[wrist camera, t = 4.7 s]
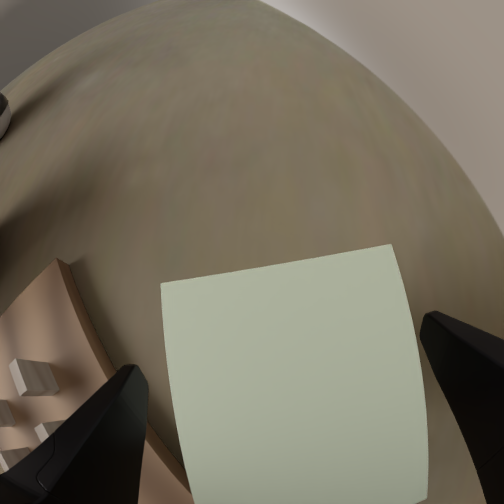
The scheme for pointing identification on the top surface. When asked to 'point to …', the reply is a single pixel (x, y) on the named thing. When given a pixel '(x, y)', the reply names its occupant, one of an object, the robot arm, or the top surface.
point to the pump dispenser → (4, 114)
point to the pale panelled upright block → (298, 383)
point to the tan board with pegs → (64, 379)
